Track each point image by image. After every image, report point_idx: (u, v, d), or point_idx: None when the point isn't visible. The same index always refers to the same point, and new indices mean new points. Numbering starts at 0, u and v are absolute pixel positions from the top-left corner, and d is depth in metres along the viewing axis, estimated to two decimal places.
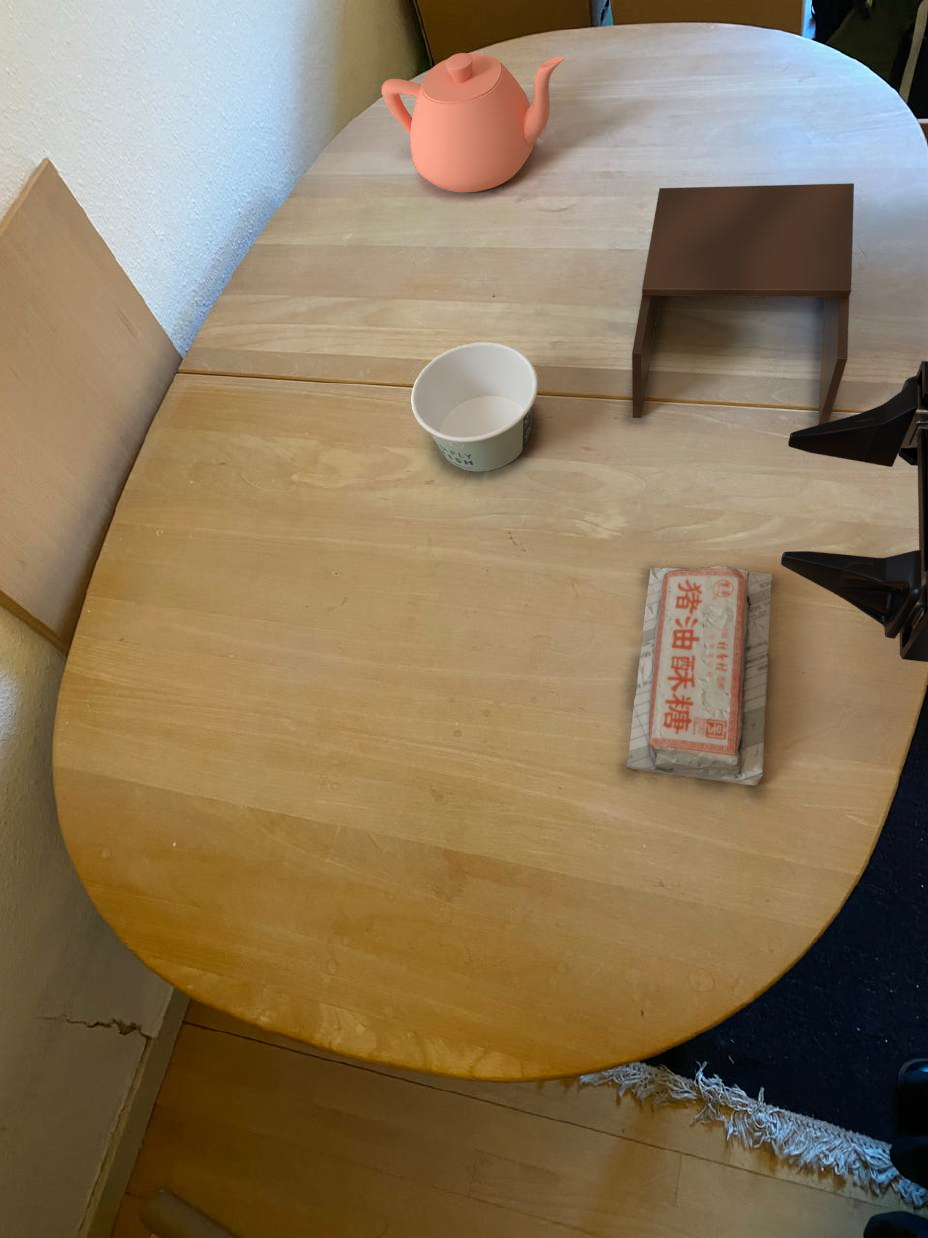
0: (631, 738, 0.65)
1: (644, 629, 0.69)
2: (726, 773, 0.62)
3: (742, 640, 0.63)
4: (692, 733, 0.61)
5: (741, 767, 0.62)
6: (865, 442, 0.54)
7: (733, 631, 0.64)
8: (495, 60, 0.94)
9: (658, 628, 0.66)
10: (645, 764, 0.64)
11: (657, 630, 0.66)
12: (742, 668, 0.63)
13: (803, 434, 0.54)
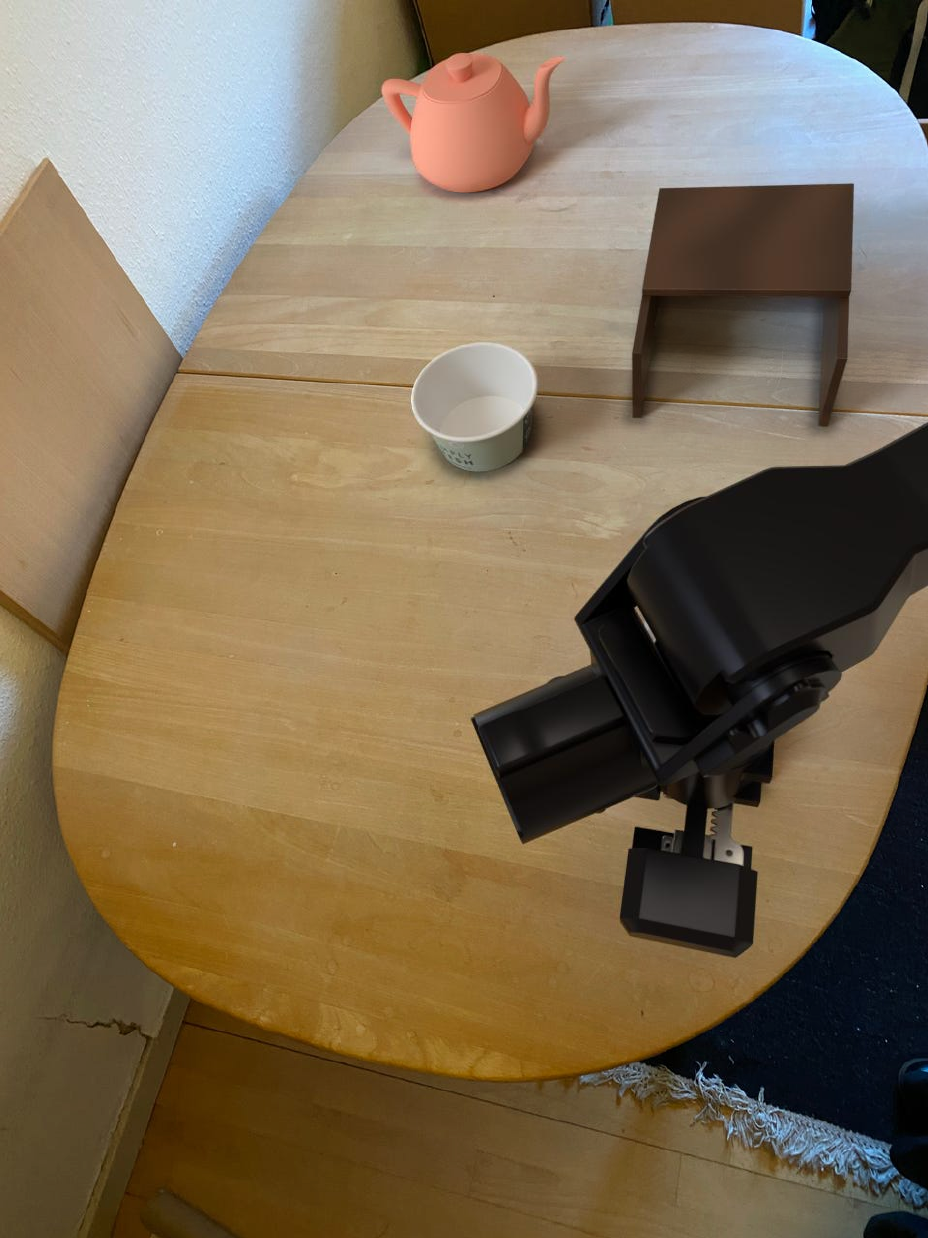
0: None
1: None
2: None
3: None
4: None
5: None
6: None
7: None
8: (495, 60, 0.94)
9: None
10: None
11: None
12: None
13: None
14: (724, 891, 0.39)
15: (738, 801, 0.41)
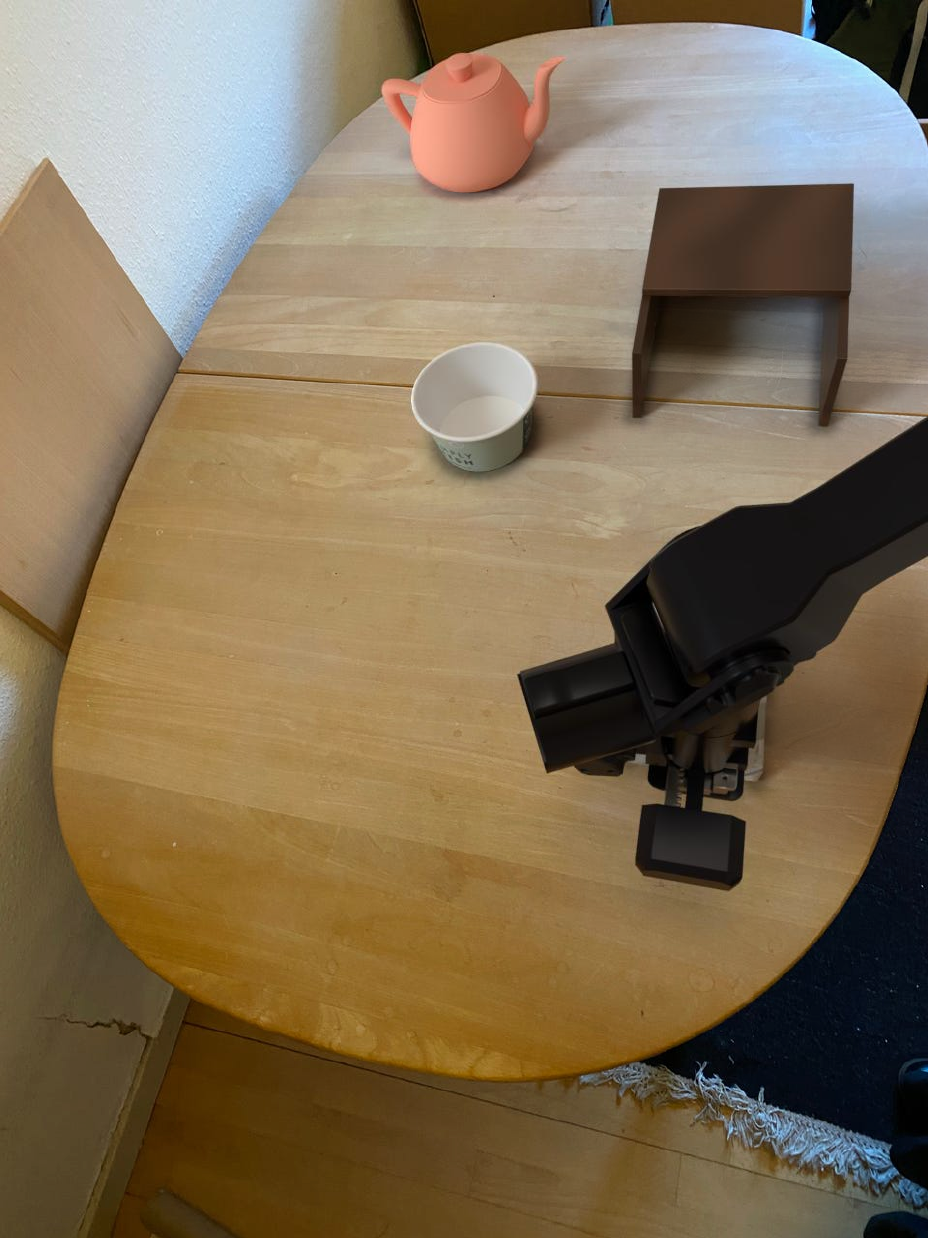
0: None
1: None
2: None
3: None
4: None
5: None
6: None
7: None
8: (495, 60, 0.94)
9: None
10: None
11: None
12: None
13: None
14: (719, 836, 0.49)
15: (730, 765, 0.51)
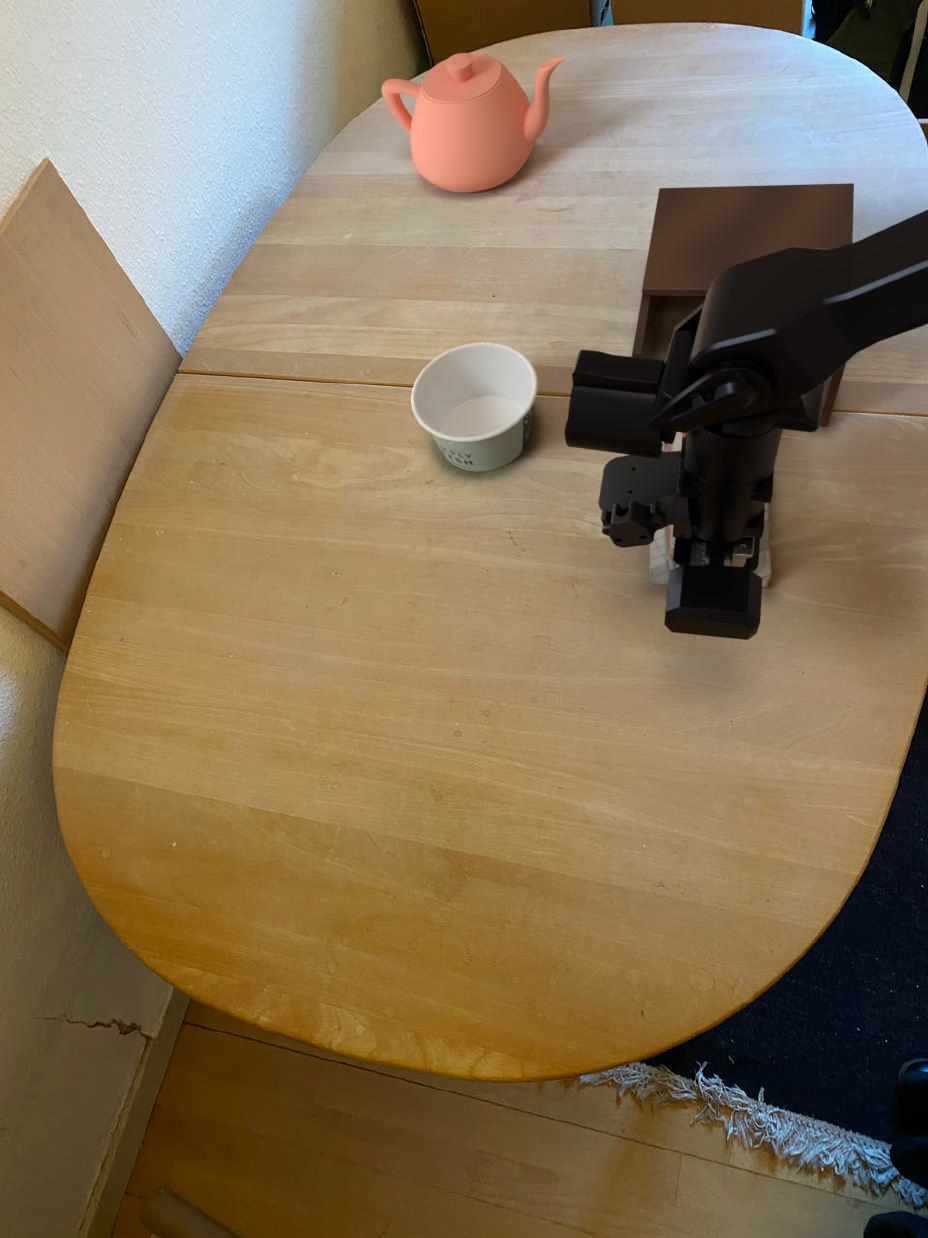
0: (650, 558, 0.72)
1: None
2: None
3: None
4: None
5: None
6: None
7: None
8: (495, 60, 0.94)
9: None
10: (665, 578, 0.71)
11: None
12: None
13: None
14: (739, 586, 0.56)
15: (748, 533, 0.58)
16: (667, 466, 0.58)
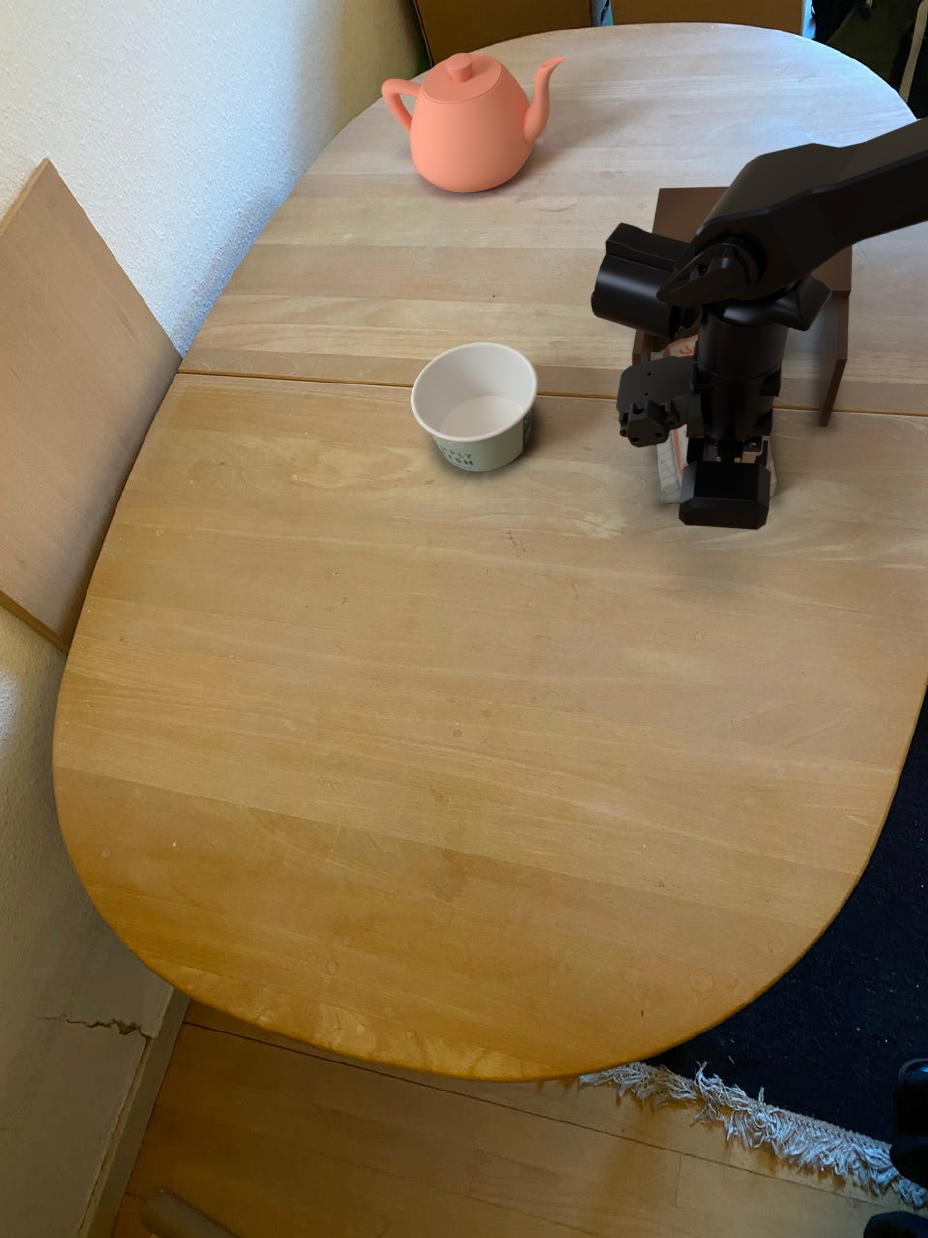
0: (661, 479, 0.75)
1: None
2: None
3: None
4: None
5: None
6: None
7: None
8: (495, 60, 0.94)
9: None
10: (677, 495, 0.74)
11: None
12: None
13: None
14: (749, 478, 0.59)
15: (757, 431, 0.61)
16: (681, 369, 0.62)
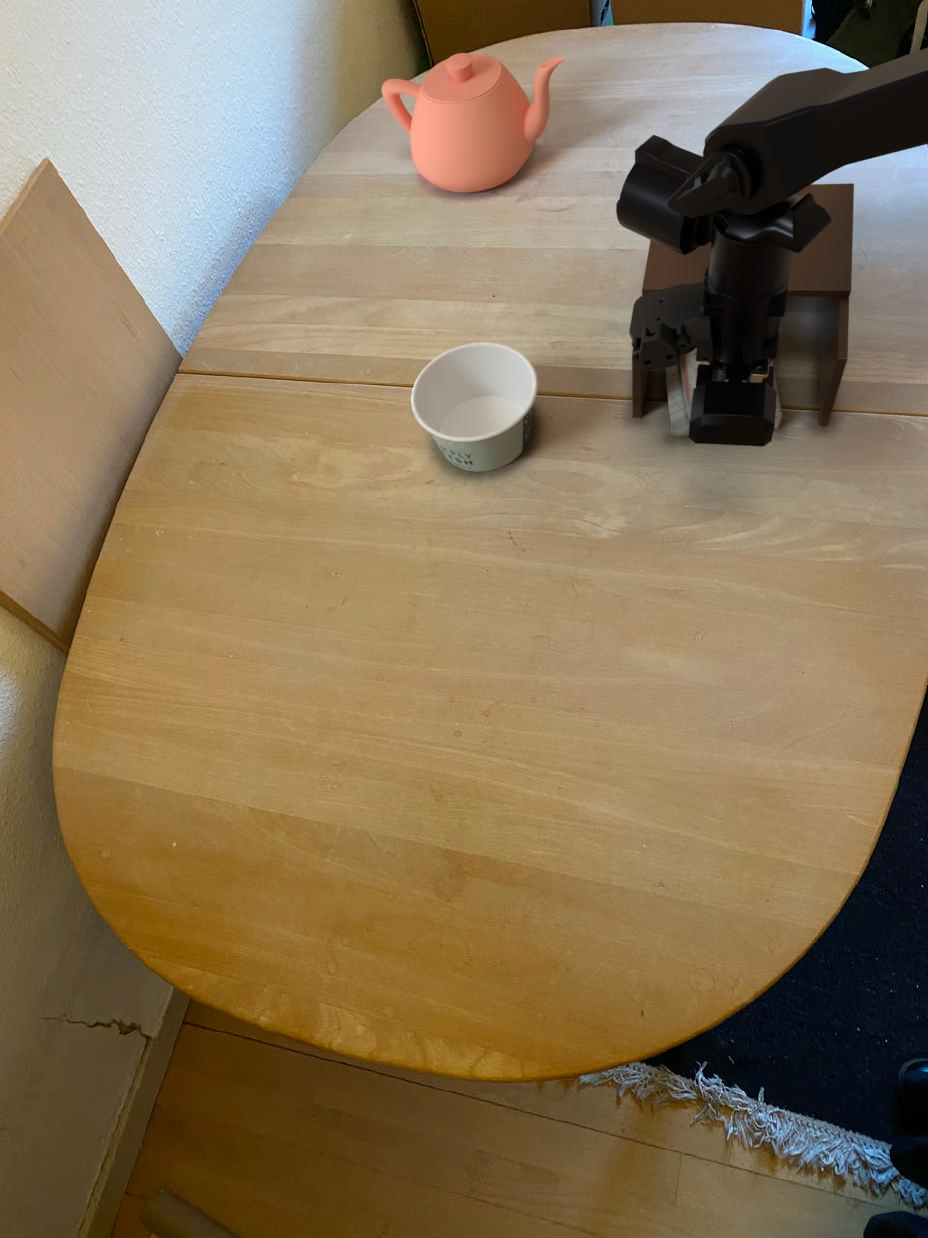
0: (671, 413, 0.79)
1: None
2: None
3: None
4: None
5: None
6: None
7: None
8: (495, 60, 0.94)
9: None
10: (686, 428, 0.77)
11: None
12: None
13: None
14: (756, 395, 0.62)
15: (763, 353, 0.64)
16: (691, 295, 0.65)
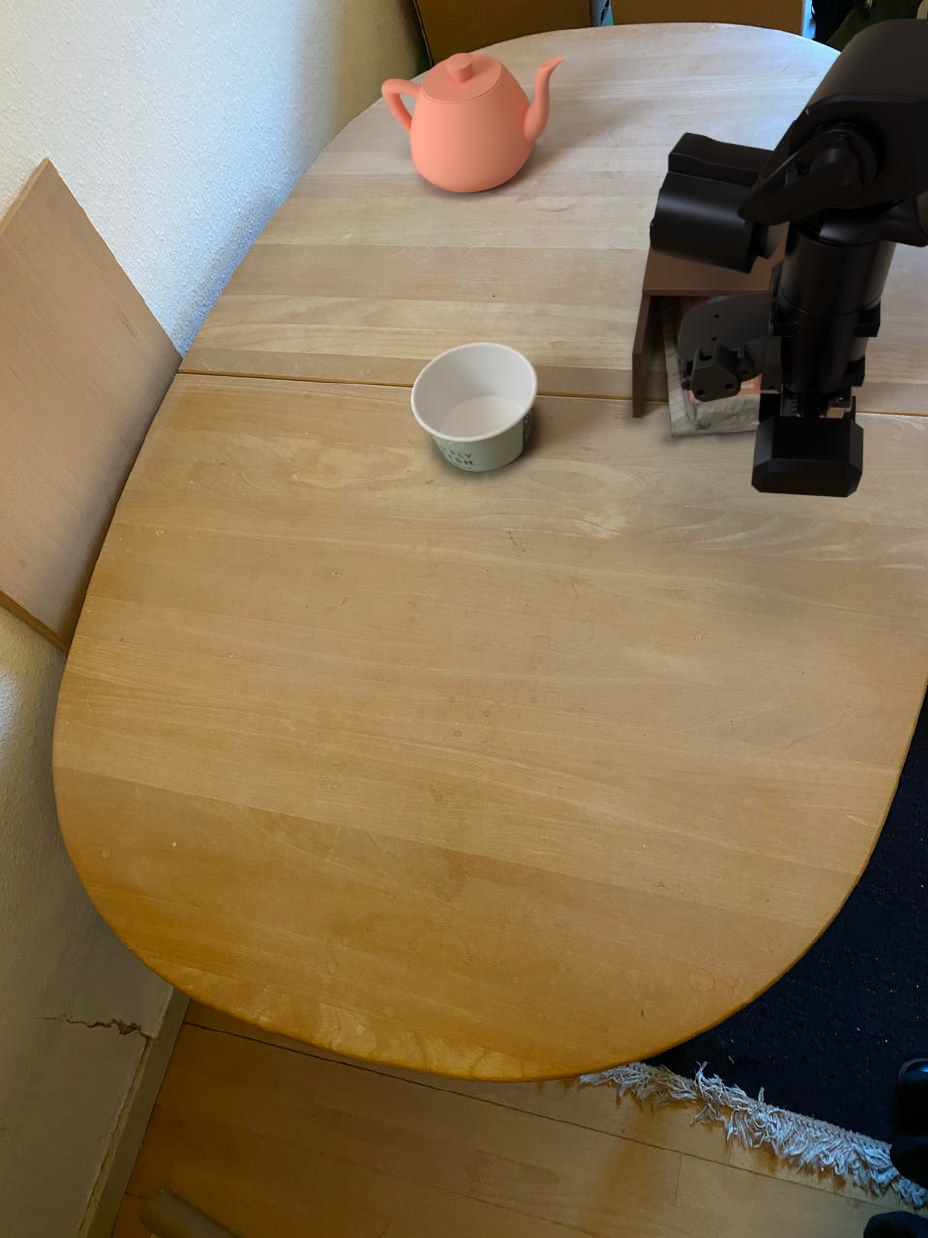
0: (671, 412, 0.79)
1: (664, 338, 0.83)
2: (754, 417, 0.76)
3: None
4: None
5: None
6: None
7: None
8: (495, 60, 0.94)
9: (679, 326, 0.80)
10: (686, 427, 0.77)
11: (678, 328, 0.80)
12: None
13: None
14: (839, 435, 0.50)
15: (846, 381, 0.52)
16: (756, 308, 0.52)
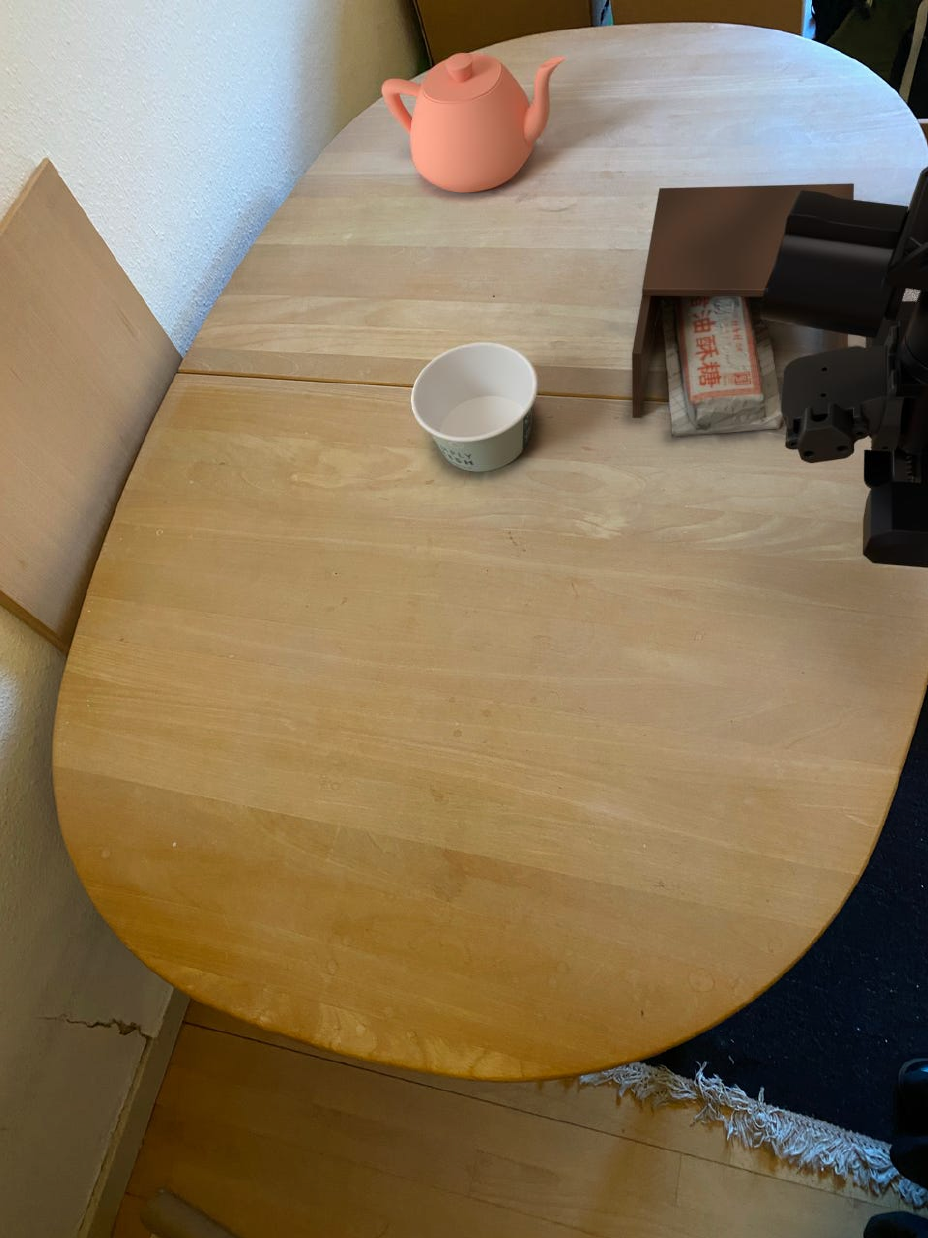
0: (671, 412, 0.79)
1: (665, 338, 0.83)
2: (754, 417, 0.76)
3: (750, 317, 0.78)
4: (723, 384, 0.75)
5: (765, 413, 0.76)
6: None
7: (742, 312, 0.78)
8: (495, 60, 0.94)
9: (679, 326, 0.80)
10: (686, 427, 0.77)
11: (678, 328, 0.80)
12: (754, 336, 0.77)
13: None
14: None
15: None
16: (870, 363, 0.48)
